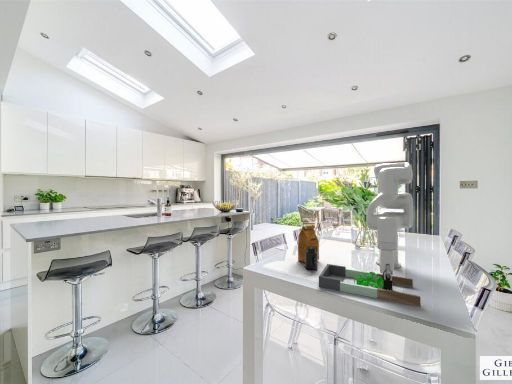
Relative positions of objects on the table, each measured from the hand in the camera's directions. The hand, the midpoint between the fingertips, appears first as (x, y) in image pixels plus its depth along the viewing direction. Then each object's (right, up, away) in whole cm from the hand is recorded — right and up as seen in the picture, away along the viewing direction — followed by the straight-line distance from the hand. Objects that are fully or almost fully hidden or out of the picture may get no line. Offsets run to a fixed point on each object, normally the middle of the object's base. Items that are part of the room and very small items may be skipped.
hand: (387, 285), depth 96 cm
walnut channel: (+3, -2, -1) cm, 4 cm away
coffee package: (-24, -3, +42) cm, 48 cm away
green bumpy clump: (-5, -3, +3) cm, 6 cm away
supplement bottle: (-26, -3, +28) cm, 38 cm away
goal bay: (-9, -2, +5) cm, 11 cm away
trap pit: (-20, -2, +11) cm, 22 cm away
